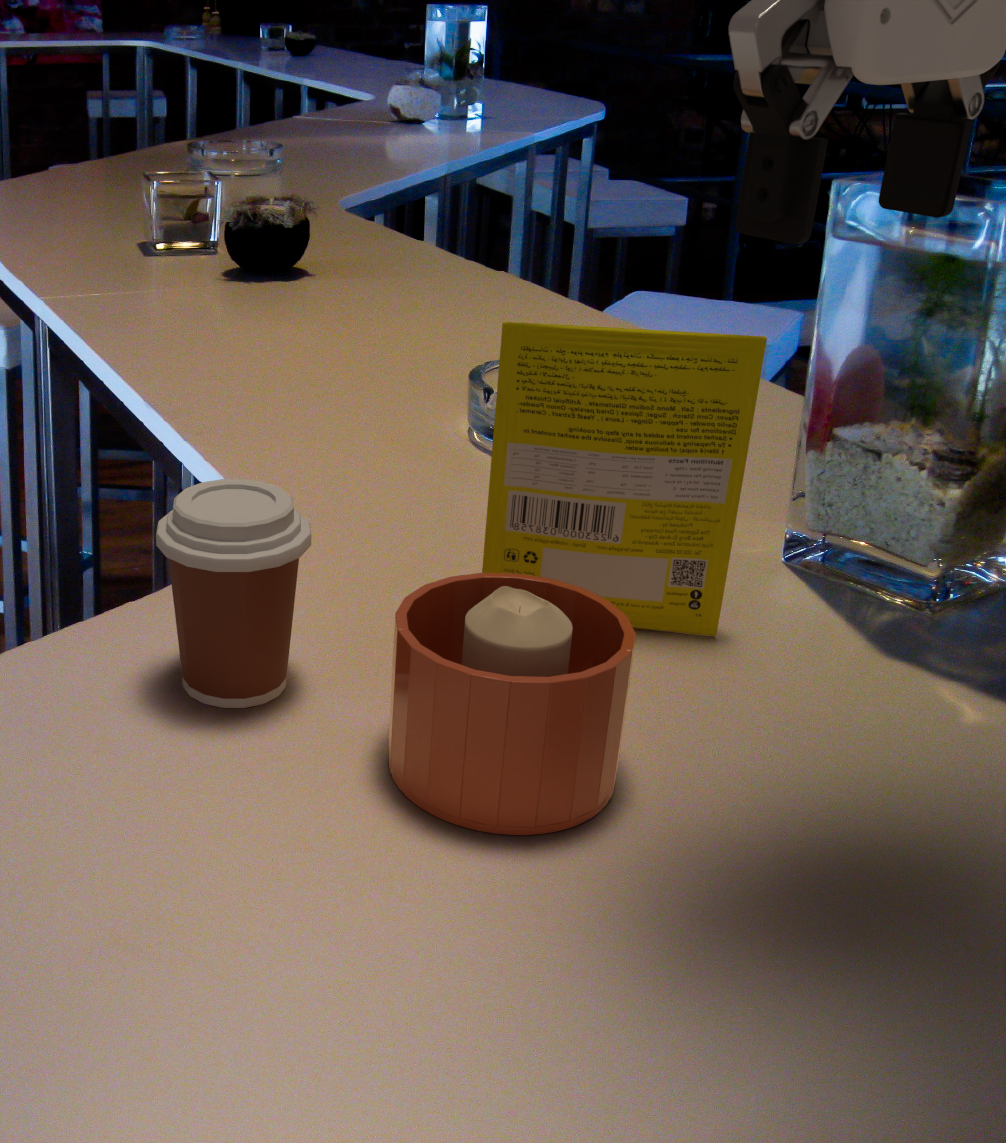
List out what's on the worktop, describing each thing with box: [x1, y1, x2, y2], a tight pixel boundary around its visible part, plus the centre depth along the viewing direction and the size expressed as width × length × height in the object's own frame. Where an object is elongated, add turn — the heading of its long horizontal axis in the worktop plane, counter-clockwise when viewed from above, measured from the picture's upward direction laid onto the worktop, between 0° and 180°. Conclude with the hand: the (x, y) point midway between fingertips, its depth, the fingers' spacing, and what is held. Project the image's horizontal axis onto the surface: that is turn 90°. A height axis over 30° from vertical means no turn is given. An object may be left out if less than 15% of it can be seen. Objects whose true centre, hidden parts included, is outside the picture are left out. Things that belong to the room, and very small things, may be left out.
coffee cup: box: [155, 478, 312, 709], centre depth 79 cm, size 9×9×12 cm
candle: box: [462, 586, 573, 677], centre depth 71 cm, size 6×6×10 cm
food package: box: [481, 321, 768, 637], centre depth 84 cm, size 15×1×20 cm, turn 77°
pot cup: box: [387, 572, 637, 836], centre depth 71 cm, size 12×12×9 cm
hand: (845, 224), depth 56 cm, fingers open, 9 cm apart
